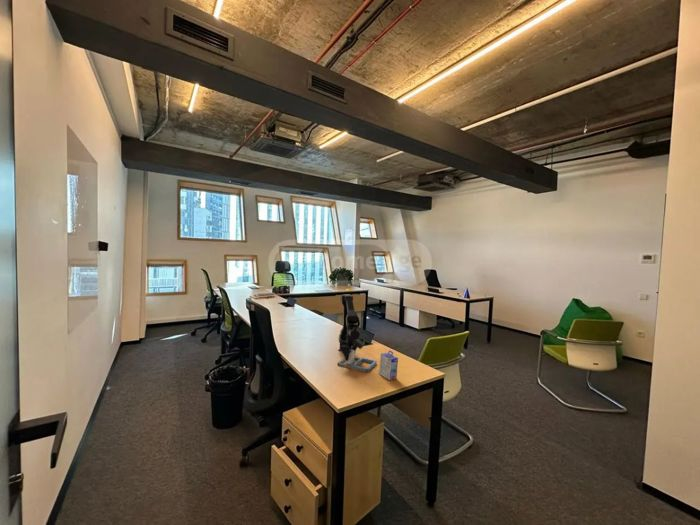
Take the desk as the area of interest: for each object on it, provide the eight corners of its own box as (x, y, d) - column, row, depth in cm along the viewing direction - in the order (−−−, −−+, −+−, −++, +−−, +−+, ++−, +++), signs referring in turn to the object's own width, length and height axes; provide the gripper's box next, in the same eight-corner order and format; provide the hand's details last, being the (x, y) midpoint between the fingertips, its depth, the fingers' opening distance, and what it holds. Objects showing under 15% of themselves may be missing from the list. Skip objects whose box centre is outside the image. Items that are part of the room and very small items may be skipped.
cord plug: (345, 363, 183) (346, 350, 183) (348, 361, 187) (349, 348, 186) (351, 364, 181) (352, 352, 181) (354, 362, 185) (354, 350, 185)
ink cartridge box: (397, 378, 165) (398, 353, 164) (389, 380, 162) (391, 355, 161) (386, 372, 173) (387, 348, 172) (378, 374, 170) (380, 349, 169)
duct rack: (337, 365, 179) (337, 361, 179) (348, 357, 193) (348, 354, 193) (367, 372, 171) (367, 369, 171) (376, 363, 185) (376, 360, 184)
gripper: (357, 340, 171) (355, 366, 172) (368, 333, 188) (367, 356, 189) (340, 337, 176) (339, 362, 177) (353, 330, 193) (352, 353, 194)
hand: (350, 358), depth 184 cm, fingers open, 8 cm apart
